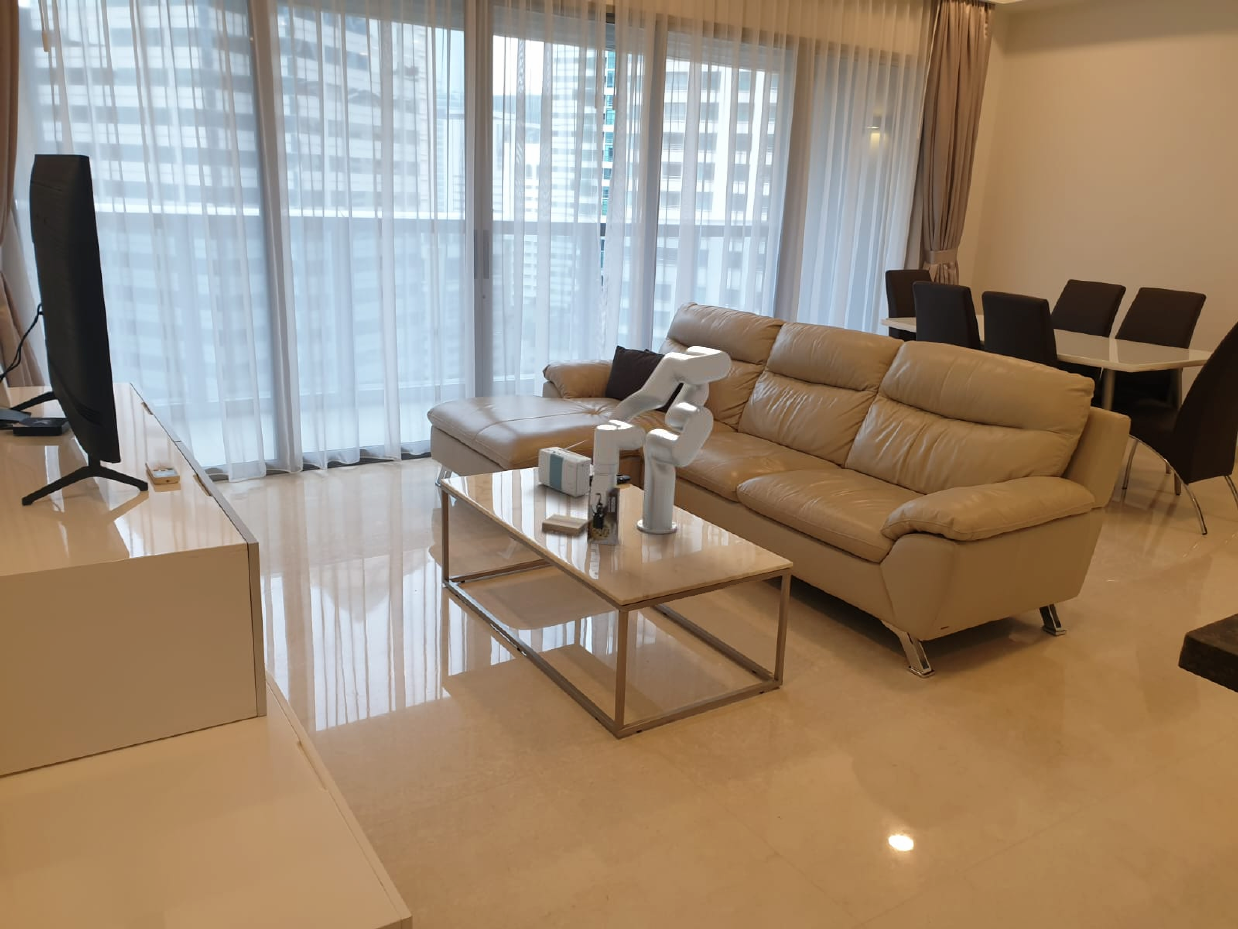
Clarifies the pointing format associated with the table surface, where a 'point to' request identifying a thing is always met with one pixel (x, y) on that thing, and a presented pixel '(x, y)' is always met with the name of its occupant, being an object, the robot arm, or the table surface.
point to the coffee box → (605, 520)
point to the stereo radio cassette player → (564, 470)
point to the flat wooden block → (565, 525)
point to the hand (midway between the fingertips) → (603, 523)
